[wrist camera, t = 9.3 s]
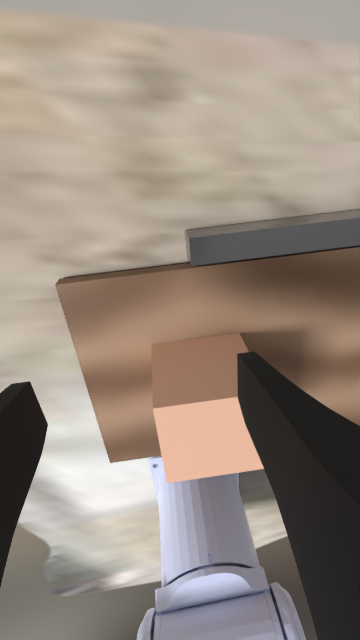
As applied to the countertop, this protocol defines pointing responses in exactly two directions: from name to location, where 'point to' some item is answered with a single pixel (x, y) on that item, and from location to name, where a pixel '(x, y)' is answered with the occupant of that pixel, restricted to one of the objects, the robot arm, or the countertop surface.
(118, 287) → the sliding panel with handle
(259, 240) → the guide rails
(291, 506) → the robot arm
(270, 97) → the countertop surface
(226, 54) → the countertop surface
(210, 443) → the terracotta block
